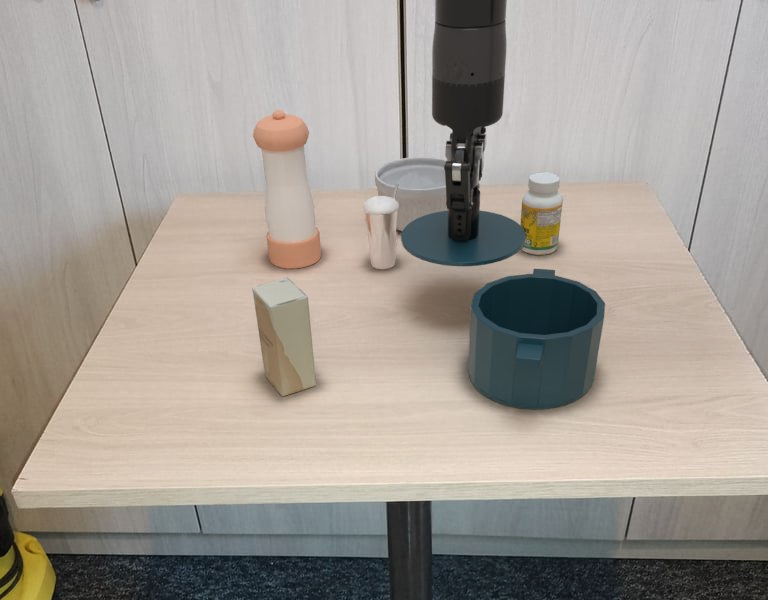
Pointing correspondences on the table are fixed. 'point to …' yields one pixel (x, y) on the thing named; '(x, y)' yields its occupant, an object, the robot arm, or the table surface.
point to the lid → (485, 245)
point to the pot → (534, 340)
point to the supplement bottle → (541, 214)
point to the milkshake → (382, 229)
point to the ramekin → (414, 186)
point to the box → (285, 335)
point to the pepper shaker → (287, 191)
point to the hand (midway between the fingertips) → (463, 231)
